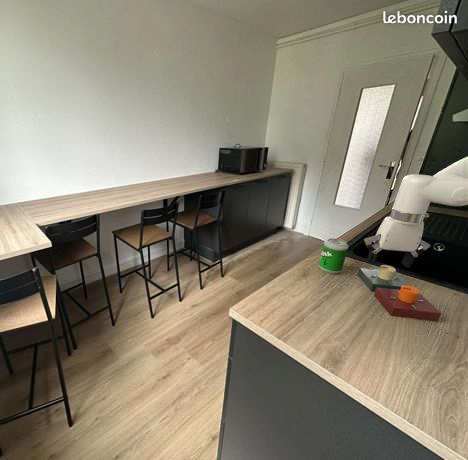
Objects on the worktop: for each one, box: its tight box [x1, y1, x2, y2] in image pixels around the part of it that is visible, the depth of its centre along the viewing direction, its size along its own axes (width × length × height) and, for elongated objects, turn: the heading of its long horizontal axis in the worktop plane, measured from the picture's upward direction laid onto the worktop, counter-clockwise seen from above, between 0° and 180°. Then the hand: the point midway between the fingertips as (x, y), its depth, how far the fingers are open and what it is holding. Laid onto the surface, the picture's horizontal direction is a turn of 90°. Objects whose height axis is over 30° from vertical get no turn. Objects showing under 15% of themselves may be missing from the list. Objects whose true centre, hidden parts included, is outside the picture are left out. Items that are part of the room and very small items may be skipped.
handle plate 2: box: [373, 288, 442, 323], centre depth 75 cm, size 11×10×3 cm
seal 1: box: [377, 264, 397, 280], centre depth 85 cm, size 4×4×4 cm
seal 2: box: [398, 285, 421, 303], centre depth 74 cm, size 4×4×4 cm
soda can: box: [318, 237, 349, 275], centre depth 94 cm, size 8×8×12 cm
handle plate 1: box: [357, 267, 412, 293], centre depth 86 cm, size 11×10×3 cm
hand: (387, 264), depth 84 cm, fingers open, 9 cm apart
